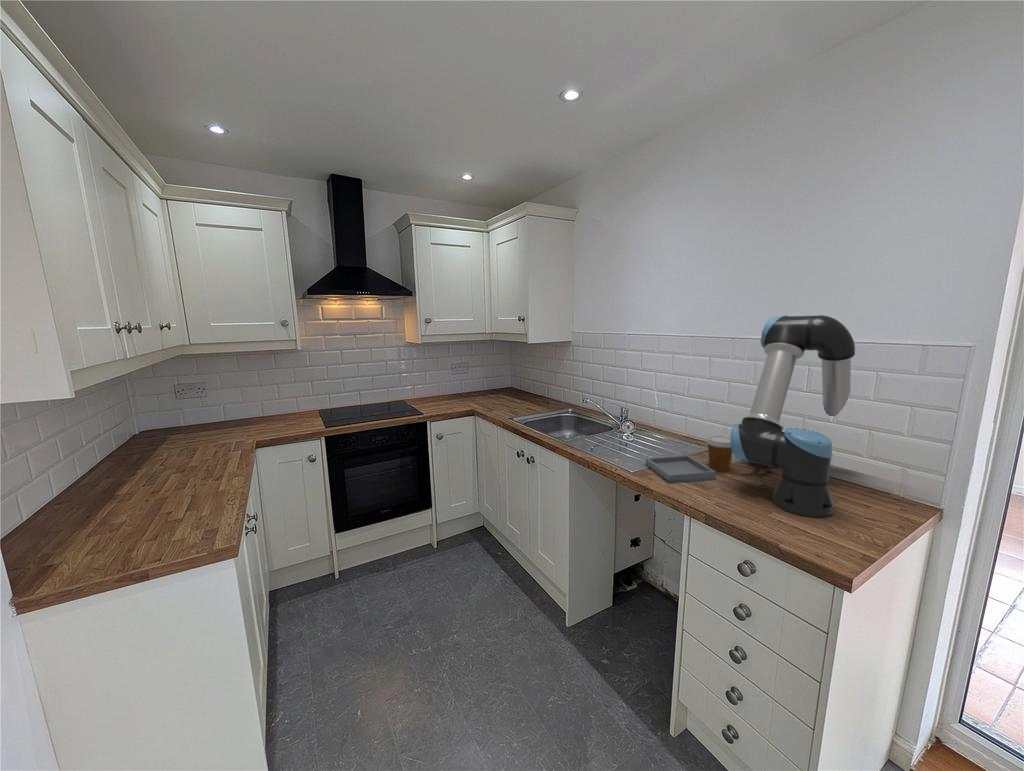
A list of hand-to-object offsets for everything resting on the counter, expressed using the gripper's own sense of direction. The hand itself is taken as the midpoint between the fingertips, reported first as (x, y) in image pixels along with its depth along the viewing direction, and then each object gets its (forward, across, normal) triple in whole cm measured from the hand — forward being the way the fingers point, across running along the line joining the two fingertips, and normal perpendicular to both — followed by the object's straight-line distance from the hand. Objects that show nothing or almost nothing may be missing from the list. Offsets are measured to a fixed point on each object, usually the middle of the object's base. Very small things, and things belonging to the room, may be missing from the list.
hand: (720, 452), depth 154 cm
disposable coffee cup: (0, 0, -7) cm, 7 cm away
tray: (+17, -1, -6) cm, 18 cm away
